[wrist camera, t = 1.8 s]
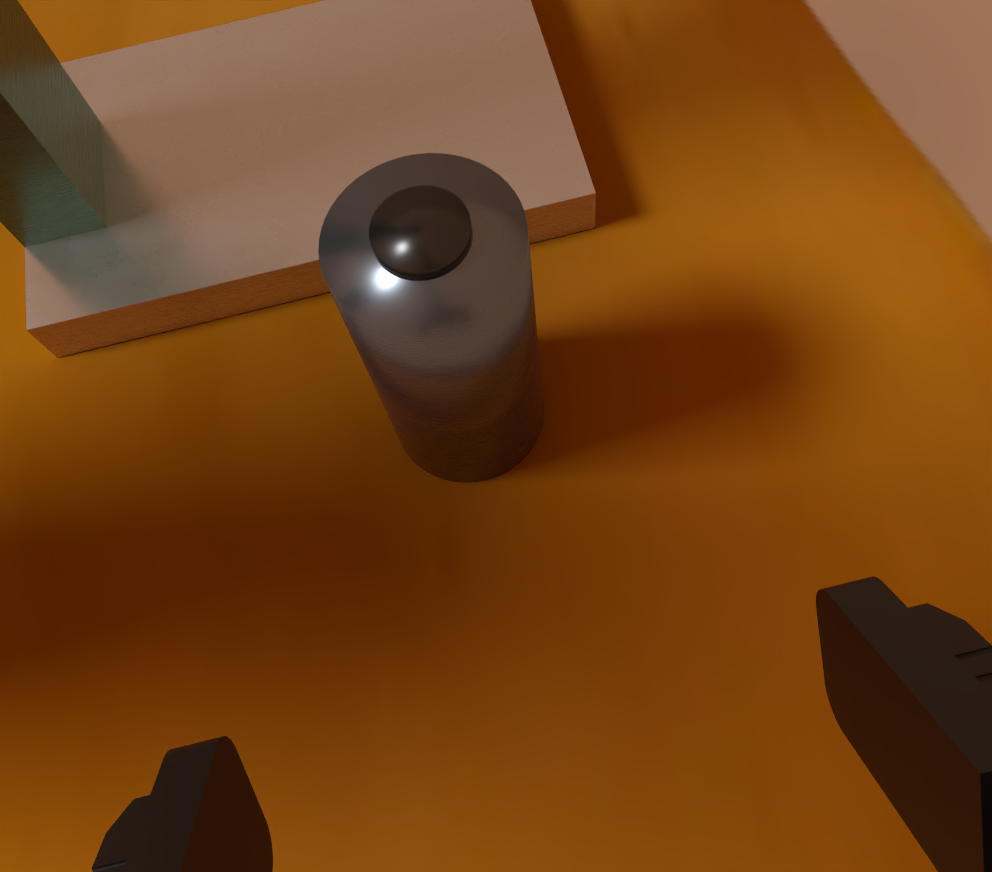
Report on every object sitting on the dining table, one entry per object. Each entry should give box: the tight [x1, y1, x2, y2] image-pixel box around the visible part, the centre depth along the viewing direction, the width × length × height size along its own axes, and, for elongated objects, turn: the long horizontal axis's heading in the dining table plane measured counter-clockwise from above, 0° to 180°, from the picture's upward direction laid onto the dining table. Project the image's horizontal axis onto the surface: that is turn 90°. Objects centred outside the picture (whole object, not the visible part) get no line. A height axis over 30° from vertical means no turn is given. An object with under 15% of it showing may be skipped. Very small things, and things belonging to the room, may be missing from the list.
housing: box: [318, 153, 544, 482], centre depth 26 cm, size 5×5×10 cm
